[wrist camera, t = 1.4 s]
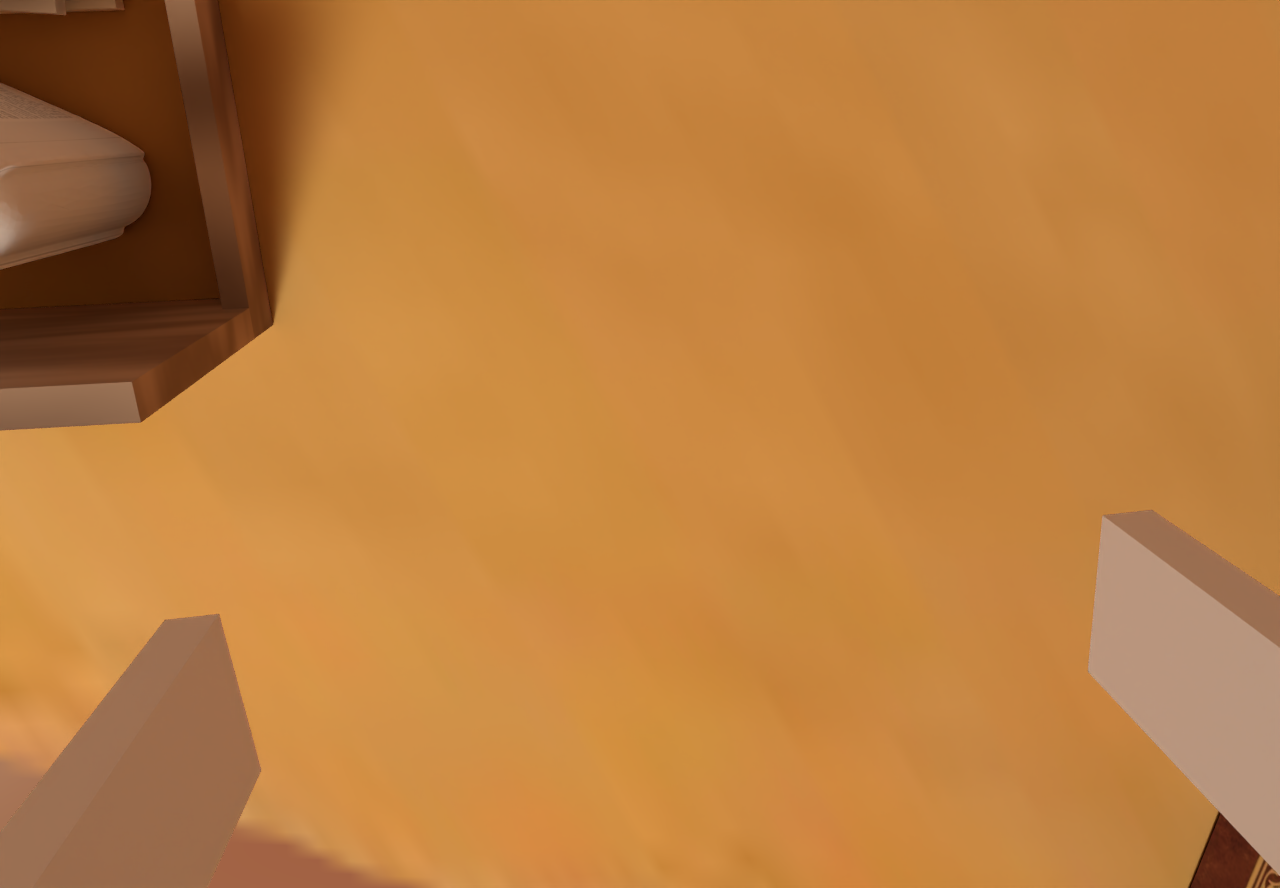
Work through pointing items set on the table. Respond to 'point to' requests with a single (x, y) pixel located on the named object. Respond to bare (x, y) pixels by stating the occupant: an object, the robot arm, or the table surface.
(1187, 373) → the table surface
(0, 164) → the photo printer
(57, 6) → the offcut stack
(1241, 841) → the decorative book
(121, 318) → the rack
